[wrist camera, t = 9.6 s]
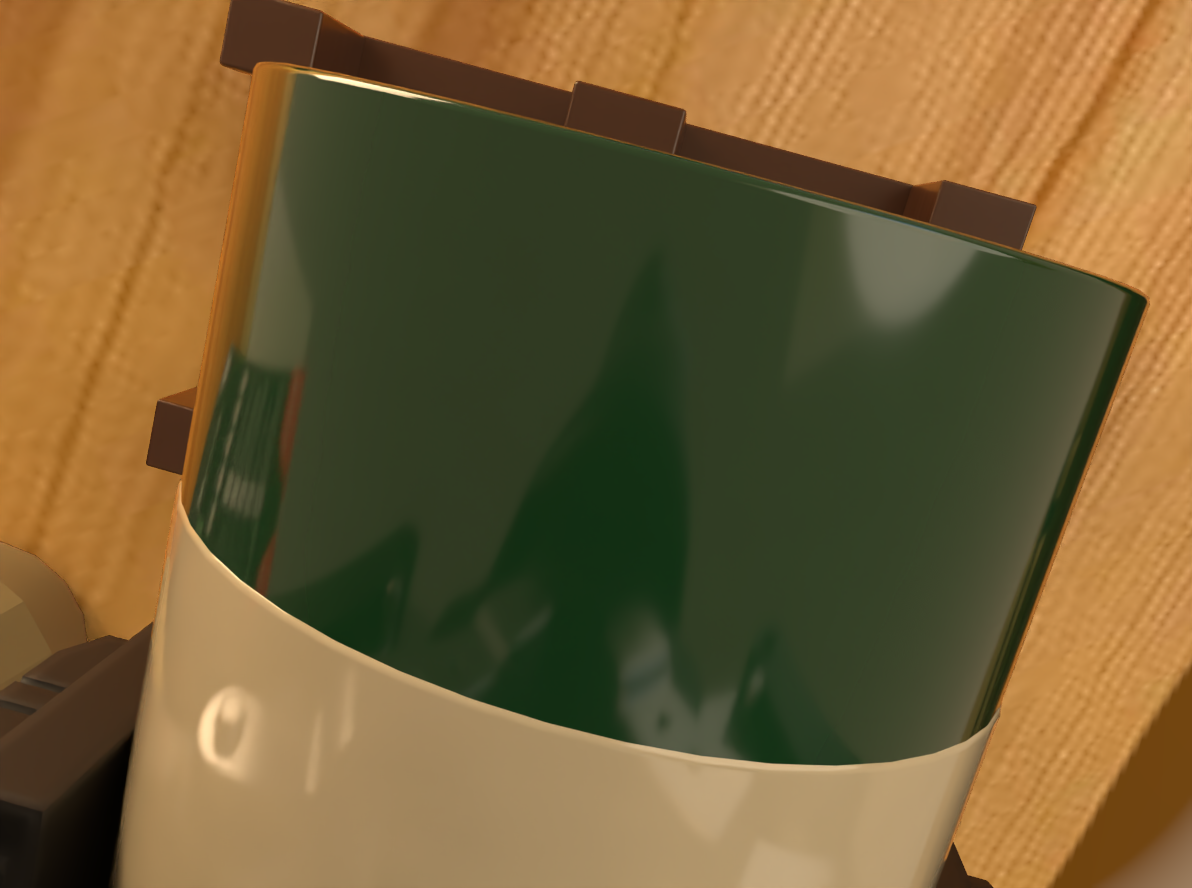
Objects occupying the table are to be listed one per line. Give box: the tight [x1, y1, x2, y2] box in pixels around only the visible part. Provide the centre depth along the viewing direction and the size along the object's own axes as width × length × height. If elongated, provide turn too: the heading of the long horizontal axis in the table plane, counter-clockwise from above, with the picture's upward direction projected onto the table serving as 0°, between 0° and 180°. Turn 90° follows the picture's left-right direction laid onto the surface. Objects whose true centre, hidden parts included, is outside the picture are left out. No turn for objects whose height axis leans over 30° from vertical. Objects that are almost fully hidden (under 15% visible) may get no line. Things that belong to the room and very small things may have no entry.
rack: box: [146, 0, 1036, 475], centre depth 27 cm, size 11×17×6 cm, turn 75°
